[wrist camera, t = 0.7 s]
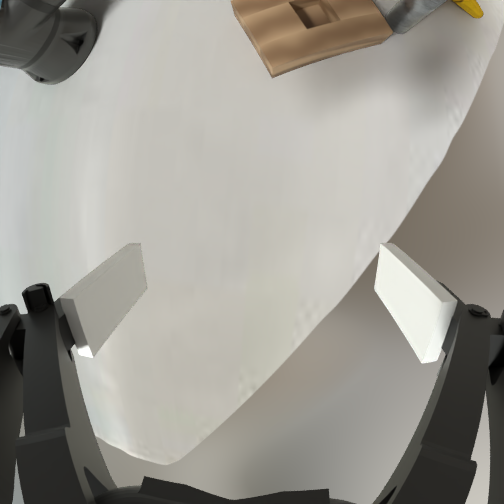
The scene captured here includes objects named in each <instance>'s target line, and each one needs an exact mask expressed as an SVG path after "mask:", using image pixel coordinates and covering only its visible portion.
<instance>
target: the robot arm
mask: <svg viewBox="0 0 504 504" xmlns="http://www.w3.org/2000/svg"><path fill="white" fill-rule="evenodd" d="M65 1H66V0H0V66H5V67H12V68H17V69H22V70H23V71H24V72H25V73H26V74H28V75H29V76H30V77H31V78H33V79H34V80H35V81H37V82H39V83H43V84H48V85H53V84H57V83H60V82H62V81H64V80H66V79H67V78H69V77H70V76H71V75H72V74H73V73H75V72H76V71H77V69H78V68H79V67H80V66H81V65H82V64H83V62H84V61H85V59H86V58H87V56H88V55H89V53H90V51H91V49H92V47H93V44H94V42H95V38H96V33H97V24H96V20H95V18H94V17H93V15H91V14H90V13H88V12H87V11H85V10H83V9H80V8H66V7H60V6H61V5H62V4H63V3H64V2H65ZM147 288H148V287H147V282H146V276H145V270H144V264H143V257H142V250H141V243H132V244H127V245H126V246H125V247H123V248H122V249H121V250H119V251H118V252H117V253H115V254H114V255H113V256H111V257H110V258H109V259H107V260H106V261H105V262H103V263H102V264H101V265H99V266H98V267H97V268H96V269H94V270H93V271H92V272H90V273H89V274H88V275H87V276H85V277H84V278H83V279H82V280H80V281H79V282H78V283H77V284H75V285H74V286H73V287H72V288H70V289H69V290H68V291H67V292H66V293H64V294H63V295H62V296H61V297H59V299H57V300H56V301H55V302H54V301H53V298H52V295H51V291H50V288H49V285H48V284H46V283H39V284H35V285H32V286H30V287H28V288H26V289H25V290H24V291H23V292H22V296H23V299H24V302H25V305H26V308H27V310H28V314H20V313H19V310H18V308H17V306H16V305H15V304H9V305H7V304H6V305H4V306H1V307H0V504H12V501H13V491H14V477H15V465H16V459H17V466H18V473H19V479H20V485H21V490H22V495H23V500H24V504H355V503H351V502H348V501H344V500H339V499H331V498H329V489H320V490H307V491H284V492H278V493H273V494H269V495H263V496H258V497H252V498H246V499H239V500H229V499H226V498H222V497H219V496H216V495H213V494H210V493H207V492H204V491H201V490H199V489H196V488H193V487H191V486H188V485H184V484H179V483H173V482H168V481H163V480H159V479H154V478H150V477H146V476H144V479H143V482H142V485H141V486H127V487H121V488H117V486H116V485H115V483H114V482H113V480H112V478H111V476H110V474H109V471H108V469H107V466H106V464H105V462H104V459H103V457H102V454H101V452H100V449H99V446H98V443H97V440H96V438H95V435H94V432H93V429H92V426H91V423H90V419H89V416H88V413H87V410H86V406H85V403H84V399H83V395H82V391H81V387H80V383H79V379H78V375H77V370H76V366H75V361H74V356H73V353H72V351H71V348H72V346H73V345H74V344H75V345H76V347H77V350H78V352H79V355H83V356H87V357H92V358H93V357H94V356H95V355H96V353H97V352H98V351H99V349H100V348H101V347H102V345H103V344H104V343H105V341H106V340H107V339H108V338H109V336H110V335H111V334H112V332H113V331H114V330H115V328H116V327H117V326H118V325H119V323H120V322H121V321H122V319H123V318H124V317H125V316H126V314H127V313H128V312H129V311H130V309H131V308H132V307H133V306H134V304H135V303H136V302H137V301H138V299H139V298H140V297H141V296H142V294H143V293H144V292H145V291H146V290H147ZM374 290H375V291H376V293H377V294H378V295H379V297H380V298H381V300H382V301H383V303H384V305H385V306H386V308H387V309H388V311H389V312H390V314H391V315H392V316H393V318H394V320H395V321H396V323H397V324H398V326H399V327H400V329H401V331H402V332H403V334H404V335H405V337H406V338H407V340H408V341H409V343H410V345H411V347H412V348H413V350H414V351H415V353H416V355H417V356H418V358H419V360H420V361H421V363H427V362H432V361H437V359H438V356H439V354H440V351H441V349H443V351H444V352H445V354H446V356H445V358H444V360H443V363H442V365H441V367H440V370H439V372H438V374H437V376H438V378H437V380H436V383H435V386H434V389H433V391H432V394H431V396H430V399H429V401H428V404H427V406H426V409H425V411H424V413H423V416H422V418H421V420H420V422H419V425H418V427H417V429H416V431H415V433H414V435H413V437H412V439H411V442H410V443H409V445H408V447H407V449H406V451H405V453H404V455H403V457H402V459H401V460H400V462H399V464H398V466H397V468H396V469H395V471H394V473H393V474H392V476H391V478H390V479H389V481H388V483H387V484H386V486H385V487H384V489H383V490H382V492H381V493H380V495H379V496H378V497H377V499H376V500H375V501H374V502H373V504H465V502H466V499H467V497H468V494H469V491H470V488H471V485H472V482H473V479H474V476H475V473H476V468H477V463H476V461H472V460H471V455H472V451H473V448H474V444H475V440H476V436H477V432H478V428H479V423H480V418H481V413H482V408H483V403H484V396H485V390H486V397H487V406H488V415H489V429H490V485H489V496H488V504H504V310H503V313H502V316H501V318H491V317H490V313H489V312H488V311H487V310H486V309H484V308H483V307H481V306H478V305H474V304H467V305H465V304H464V303H463V302H462V301H461V300H460V299H459V298H458V297H457V296H456V295H454V293H453V292H452V291H450V290H449V289H448V288H447V287H446V286H445V285H444V284H442V283H440V282H438V281H437V280H435V279H434V278H433V277H431V276H430V275H429V274H428V273H427V272H426V271H425V270H424V269H423V268H421V267H420V266H419V265H418V264H417V263H416V262H415V261H413V260H412V259H411V258H410V257H409V256H407V255H406V254H405V253H404V252H403V251H402V250H400V249H399V248H398V247H397V246H395V245H394V244H393V243H381V245H380V253H379V260H378V268H377V274H376V281H375V287H374ZM23 412H24V426H25V436H24V437H19V434H20V428H21V422H22V417H23Z"/></svg>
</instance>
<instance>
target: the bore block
mask: <svg viewBox="0 0 504 504" xmlns="http://www.w3.org/2000/svg"><path fill="white" fill-rule="evenodd" d="M231 4H232V7H233V11H234V14H235V17H236V18H237V20H238V21H239V23H240V25H241V26H242V28H243V29H244V31H245V33H246V34H247V36H248V37H249V39H250V41H251V42H252V44H253V46H254V47H255V49H256V51H257V52H258V54H259V56H260V58H261V59H262V61H263V63H264V64H265V66H266V68H267V70H268V72H269V73H270V75H271V77H272V78H274V77H276V76H279V75H282V74H284V73H287V72H289V71H292V70H295V69H297V68H300V67H303V66H306V65H309V64H312V63H315V62H317V61H321V60H324V59H327V58H330V57H333V56H336V55H340V54H343V53H347V52H350V51H354V50H358V49H362V48H366V47H370V46H374V45H378V44H381V43H382V42H384V41H385V40H386V39H387V38H388V37H389V36H390V35H391V34H392V33H393V31H392V30H391V28H390V26H389V25H388V23H387V22H386V20H385V19H384V17H383V16H382V14H381V12H380V11H379V10H378V8H377V7H376V5H375V4H374V2H373V1H372V0H232V1H231Z"/></svg>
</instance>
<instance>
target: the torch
mask: <svg viewBox="0 0 504 504" xmlns="http://www.w3.org/2000/svg"><path fill="white" fill-rule="evenodd" d="M452 1H454V2H455V3H456V4H457V5H458V6H460V7H461V8H462V9H463V10H465V11H466V12H467V13H468V14H470V15H471V16H472V17H474V18H481V17H482V16H483V11H482V9H481V8H480V6H479V4H478V3H477V2H476V0H452Z"/></svg>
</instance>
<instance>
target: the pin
mask: <svg viewBox="0 0 504 504" xmlns="http://www.w3.org/2000/svg"><path fill="white" fill-rule="evenodd" d="M446 1H447V0H400V1H399V2H398V3H397V4H396V5H395V6H394V7H393V8H392V9H391V11H390V12H389V13H388V14H387V15H386V16H385V20H386V22H387V23H388V25H389V26H390V28H391V30H392V31H394V32H396V33H399V34H403V33H405V32H407V31H408V30H409V29H410V28H412V27H413V26H414V25H415V24H417V23H418V22H419V21H420V20H422V19H423V18H424V17H426V16H427V15H428V14H430V13H431V12H432V11H434V10H435V9H436V8H438V7H439V6H440V5H442V4H443V3H444V2H446Z"/></svg>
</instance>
